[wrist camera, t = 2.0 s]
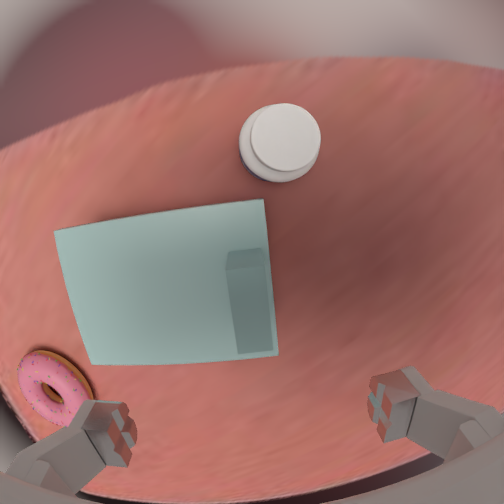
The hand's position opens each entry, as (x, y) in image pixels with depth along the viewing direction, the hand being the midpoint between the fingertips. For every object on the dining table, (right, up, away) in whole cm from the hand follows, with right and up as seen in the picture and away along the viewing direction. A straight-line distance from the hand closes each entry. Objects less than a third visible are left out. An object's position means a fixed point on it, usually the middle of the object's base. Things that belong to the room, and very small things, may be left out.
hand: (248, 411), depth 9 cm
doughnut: (-24, -11, +22) cm, 34 cm away
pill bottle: (+2, +13, +16) cm, 21 cm away
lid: (-6, +2, +12) cm, 14 cm away
